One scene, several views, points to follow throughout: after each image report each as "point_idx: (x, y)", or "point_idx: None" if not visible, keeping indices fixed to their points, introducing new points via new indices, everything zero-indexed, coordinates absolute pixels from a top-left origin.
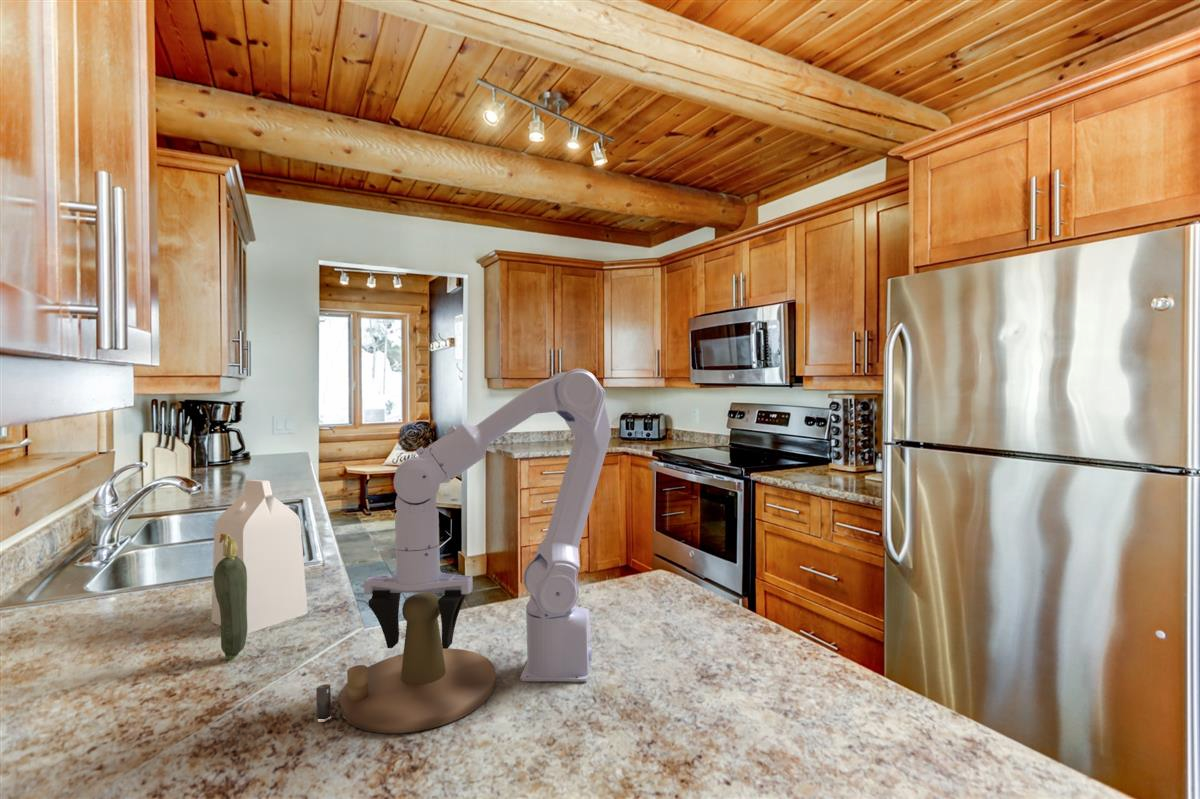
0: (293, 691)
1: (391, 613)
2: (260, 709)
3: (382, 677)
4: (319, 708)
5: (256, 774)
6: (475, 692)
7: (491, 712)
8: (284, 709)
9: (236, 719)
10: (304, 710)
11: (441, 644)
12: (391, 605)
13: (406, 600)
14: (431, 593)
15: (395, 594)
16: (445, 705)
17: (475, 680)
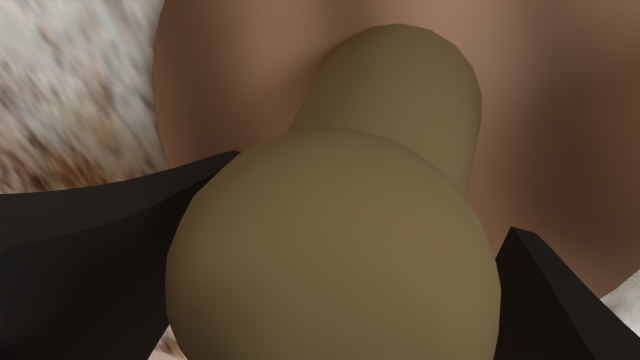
0: (24, 43)
1: (148, 305)
2: (19, 125)
3: (249, 103)
4: None
5: (165, 331)
6: (587, 284)
7: (619, 298)
8: (69, 138)
9: (6, 156)
10: (116, 154)
11: (472, 149)
12: (112, 349)
13: (184, 353)
14: (387, 305)
15: (49, 344)
16: None
17: (603, 207)
